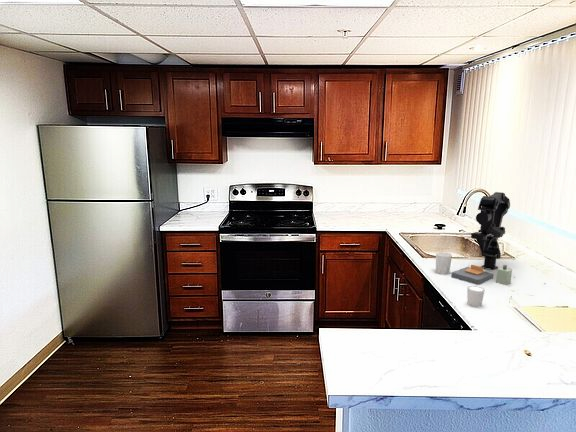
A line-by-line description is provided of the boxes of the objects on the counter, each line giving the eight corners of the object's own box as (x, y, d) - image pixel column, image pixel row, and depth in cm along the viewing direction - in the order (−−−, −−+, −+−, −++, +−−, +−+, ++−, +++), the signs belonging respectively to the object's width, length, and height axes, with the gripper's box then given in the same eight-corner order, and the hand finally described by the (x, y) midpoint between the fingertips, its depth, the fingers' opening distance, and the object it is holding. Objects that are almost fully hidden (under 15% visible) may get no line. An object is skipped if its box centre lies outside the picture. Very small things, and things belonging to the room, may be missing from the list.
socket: (467, 271, 217) (467, 266, 216) (493, 278, 206) (493, 273, 205) (451, 276, 208) (451, 272, 207) (477, 284, 197) (478, 280, 196)
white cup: (451, 275, 210) (453, 256, 208) (435, 274, 212) (437, 255, 210) (448, 270, 218) (450, 252, 216) (433, 269, 220) (434, 251, 218)
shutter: (470, 268, 212) (471, 264, 211) (483, 272, 206) (484, 267, 206) (464, 271, 208) (464, 266, 207) (477, 275, 202) (478, 270, 202)
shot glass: (462, 300, 178) (464, 285, 176) (477, 300, 178) (479, 285, 177) (471, 307, 171) (472, 291, 170) (486, 306, 172) (488, 291, 170)
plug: (500, 280, 203) (502, 263, 201) (510, 283, 199) (512, 265, 197) (495, 282, 200) (497, 265, 199) (506, 285, 196) (508, 267, 195)
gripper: (493, 225, 195) (490, 257, 198) (512, 221, 206) (508, 250, 209) (471, 222, 204) (468, 251, 207) (490, 217, 215) (487, 246, 218)
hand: (484, 250), depth 210 cm, fingers open, 4 cm apart
